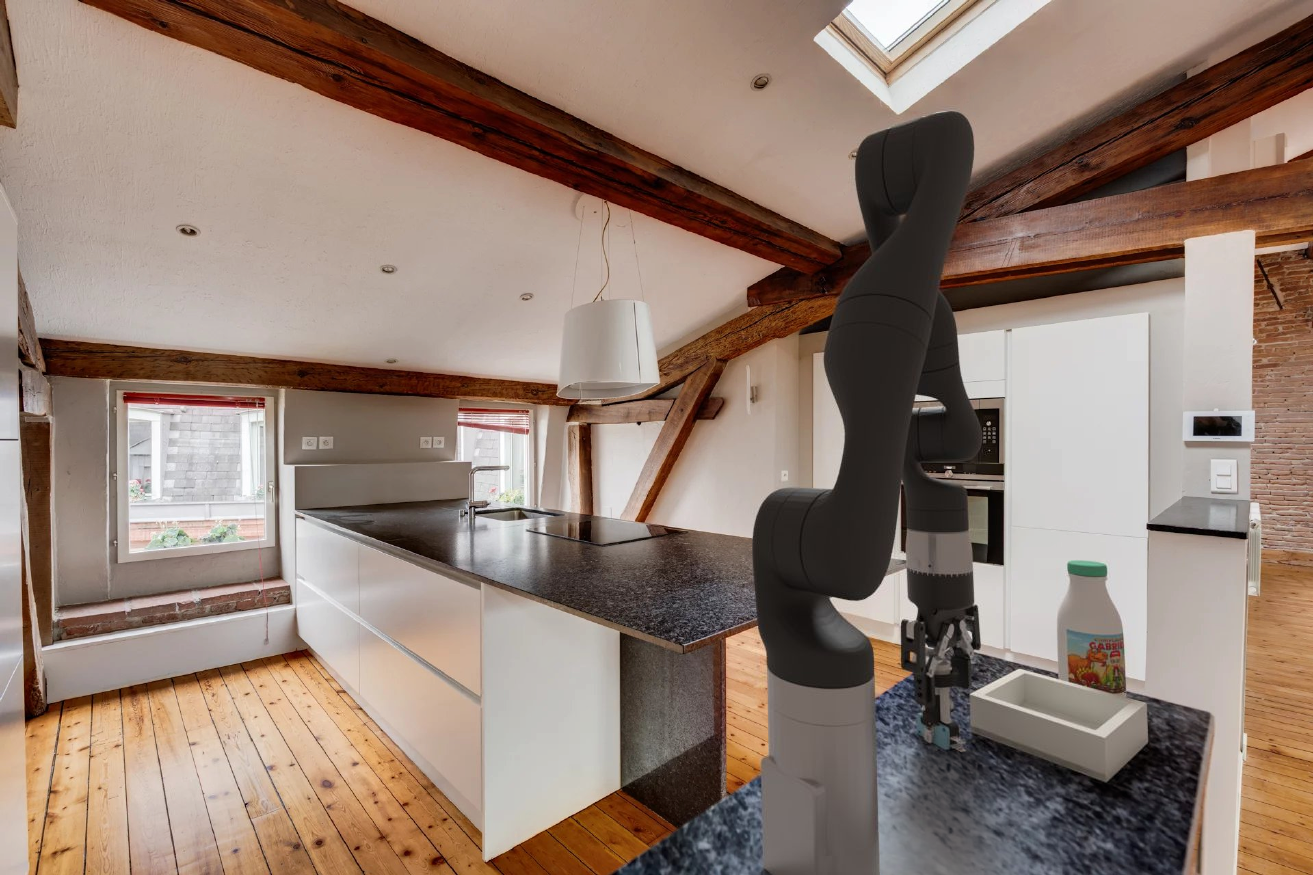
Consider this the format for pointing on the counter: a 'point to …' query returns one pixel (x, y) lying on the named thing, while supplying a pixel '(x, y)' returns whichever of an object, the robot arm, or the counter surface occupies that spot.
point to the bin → (1061, 722)
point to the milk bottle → (1090, 631)
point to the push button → (940, 710)
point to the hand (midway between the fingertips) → (944, 695)
